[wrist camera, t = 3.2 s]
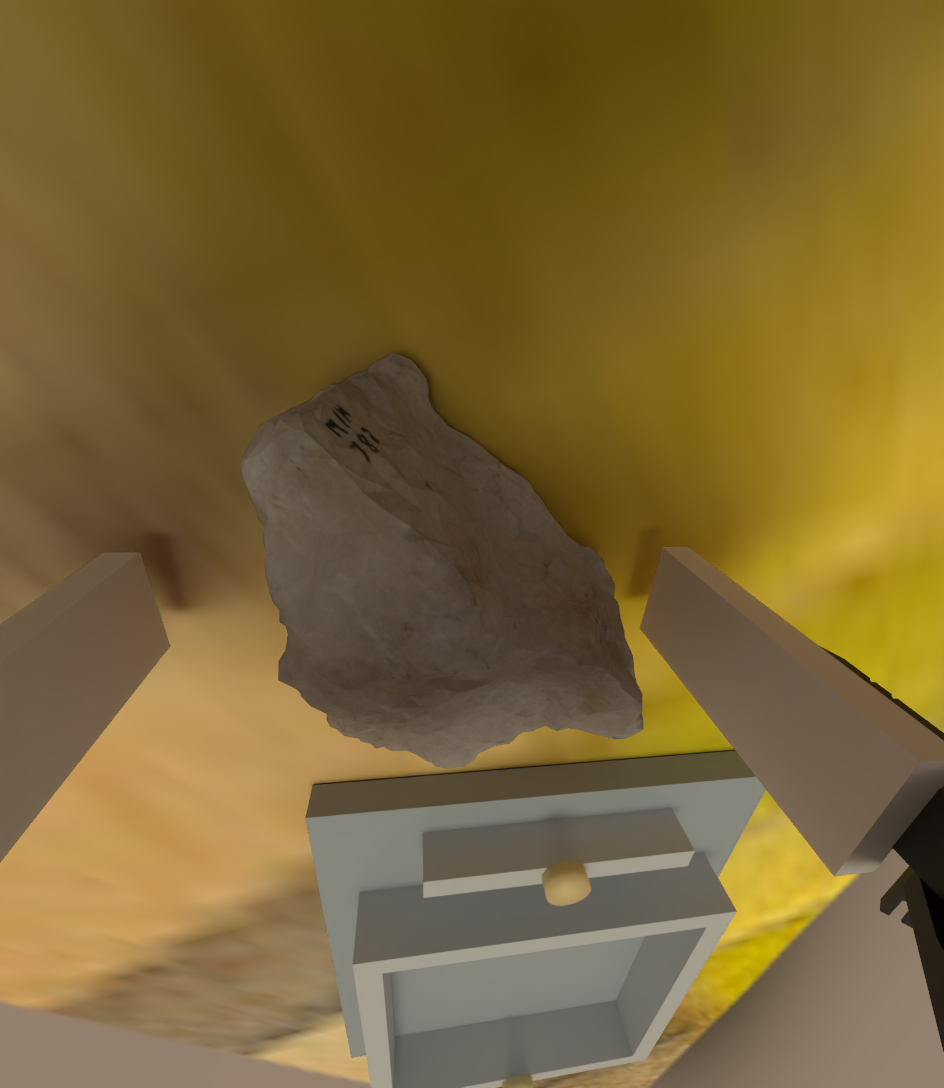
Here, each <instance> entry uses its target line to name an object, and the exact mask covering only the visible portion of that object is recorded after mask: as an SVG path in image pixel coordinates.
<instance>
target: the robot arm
mask: <svg viewBox="0 0 944 1088" xmlns="http://www.w3.org/2000/svg"><path fill="white" fill-rule="evenodd" d="M640 629H641V630H642V631H643V633H644V634H645V635H646V637H647V638H648V639H649V640H650V642H651V643H652V644H653V646H654V647H655V648H656V649H657V651H658V652H659V653H660V654H661V656H662V657H663V658H664V660H665V661H666V662H667V663H668V665H669V666H670V667H671V669H672V670H673V671H674V672H675V674H676V675H677V676H678V677H679V679H680V680H681V681H682V683H683V684H684V685H685V686H686V688H687V689H688V690H689V692H690V693H691V694H692V695H693V697H694V698H695V699H696V700H697V702H698V703H699V704H700V706H701V707H702V708H703V709H704V711H705V712H706V713H707V715H708V716H709V717H710V718H711V720H712V721H713V722H714V723H715V725H716V726H717V727H718V729H719V730H720V731H721V732H722V734H723V735H724V736H725V738H726V739H727V740H728V741H729V743H730V744H731V745H732V746H733V748H734V749H735V750H736V752H737V753H738V754H739V755H740V757H741V758H742V759H743V760H744V762H745V763H746V764H747V766H748V767H749V768H750V769H751V771H752V772H753V773H754V775H755V776H756V777H757V778H758V780H759V781H760V782H761V783H762V785H763V786H764V787H765V789H766V790H767V791H768V792H769V794H770V795H771V796H772V798H773V799H774V800H775V801H776V803H777V804H778V805H779V806H780V808H781V809H782V810H783V812H784V813H785V814H786V815H787V817H788V818H789V819H790V821H791V822H792V823H793V824H794V826H795V827H796V828H797V829H798V831H799V832H800V833H801V835H802V836H803V837H804V838H805V840H806V841H807V842H808V844H809V845H810V846H811V847H812V849H813V850H814V851H815V852H816V854H817V855H818V856H819V858H820V859H821V860H822V861H823V863H824V864H825V865H826V867H827V868H828V869H829V870H830V872H831V873H832V874H833V875H834V876H841V875H848V874H856V873H864V872H871V871H875V870H876V869H877V867H878V866H879V865H880V864H881V862H882V861H883V860H884V859H885V858H886V856H887V855H888V854H889V853H890V851H891V850H892V849H894V850H895V851H896V852H897V853H898V854H899V855H900V856H901V857H902V858H903V859H904V860H905V861H906V863H907V864H908V865H909V867H908V868H907V869H906V871H905V872H904V873H903V874H902V875H901V876H900V877H899V879H898V880H897V881H896V882H895V883H894V884H893V886H892V887H891V888H890V889H889V890H888V891H887V892H886V894H885V895H884V896H883V897H882V898H881V903H880V911H881V912H883V913H885V914H887V915H890V913H891V912H892V911H893V910H894V909H895V908H896V907H897V906H898V905H899V904H900V903H901V901H902V900H903V901H906V902H907V906H908V910H909V911H908V912H907V913H906V914H905V915H904V917H903V918H902V923H904V924H906V925H908V926H910V927H912V928H913V930H914V934H915V938H916V942H917V946H918V950H919V954H920V958H921V962H922V966H923V970H924V974H925V978H926V982H927V986H928V991H929V995H930V999H931V1003H932V1006H933V1011H934V1015H935V1019H936V1023H937V1027H938V1031H939V1035H940V1039H941V1043H942V1047H943V1051H944V733H943V732H942V731H940V730H939V729H938V728H936V727H935V726H934V725H932V724H931V723H930V722H928V721H927V720H925V719H924V718H923V717H921V716H920V715H919V714H917V713H916V712H915V711H913V710H912V709H911V708H909V707H908V706H907V705H905V704H904V703H903V702H901V701H900V700H899V699H893V698H892V696H891V695H892V694H891V693H889V692H888V691H887V690H885V689H884V688H882V687H881V686H880V685H878V684H877V683H876V682H871V681H870V678H869V677H868V676H866V675H865V674H864V673H862V672H861V671H860V670H858V669H857V668H856V667H854V666H853V665H852V664H850V663H849V662H848V661H846V660H845V659H843V658H841V657H839V656H837V655H836V654H834V653H832V652H830V651H828V650H826V649H824V648H822V647H820V646H818V645H817V644H816V643H814V642H813V641H812V640H810V639H809V638H808V637H806V636H805V635H804V634H802V633H801V632H800V631H799V630H797V629H796V628H795V627H793V626H792V625H791V624H789V623H788V622H787V621H785V620H784V619H783V618H781V617H780V616H779V615H777V614H776V613H775V612H773V611H772V610H771V609H770V608H768V607H767V606H766V605H764V604H763V603H762V602H760V601H759V600H758V599H756V598H755V597H754V596H752V595H751V594H750V593H748V592H747V591H746V590H744V589H743V588H742V587H741V586H739V585H738V584H737V583H735V582H734V581H733V580H731V579H730V578H729V577H727V576H726V575H725V574H723V573H722V572H721V571H719V570H718V569H717V568H715V567H714V566H713V565H712V564H710V563H709V562H708V561H706V560H705V559H704V558H702V557H701V556H700V555H698V554H697V553H696V552H694V551H693V550H692V549H690V548H689V547H662V550H661V554H660V557H659V561H658V564H657V568H656V572H655V575H654V579H653V583H652V586H651V590H650V594H649V597H648V601H647V605H646V608H645V612H644V616H643V619H642V623H641V627H640ZM169 647H170V644H169V641H168V638H167V635H166V631H165V628H164V625H163V622H162V619H161V616H160V613H159V610H158V607H157V604H156V600H155V597H154V594H153V591H152V588H151V585H150V582H149V579H148V576H147V573H146V569H145V566H144V563H143V560H142V557H141V554H140V552H104V553H102V554H101V555H99V556H98V557H96V558H95V559H93V560H92V561H91V562H89V563H88V564H86V565H85V566H83V567H82V568H81V569H79V570H78V571H76V572H75V573H73V574H72V575H70V576H69V577H68V578H66V579H65V580H63V581H62V582H60V583H59V584H58V585H56V586H55V587H53V588H52V589H50V590H49V591H47V592H46V593H45V594H43V595H42V596H40V597H39V598H37V599H36V600H35V601H33V602H32V603H30V604H29V605H27V606H26V607H24V608H23V609H22V610H20V611H19V612H17V613H16V614H14V615H13V616H12V617H10V618H9V619H7V620H6V621H4V622H3V623H1V624H0V862H1V861H2V860H3V858H4V857H5V856H6V855H7V853H8V852H9V851H10V850H11V848H12V847H13V846H14V844H15V843H16V842H17V841H18V839H19V838H20V837H21V836H22V834H23V833H24V832H25V830H26V829H27V828H28V827H29V825H30V824H31V823H32V821H33V820H34V819H35V818H36V816H37V815H38V814H39V813H40V811H41V810H42V809H43V807H44V806H45V805H46V804H47V802H48V801H49V800H50V799H51V797H52V796H53V795H54V793H55V792H56V791H57V790H58V788H59V787H60V786H61V785H62V783H63V782H64V781H65V779H66V778H67V777H68V776H69V774H70V773H71V772H72V771H73V769H74V768H75V767H76V765H77V764H78V763H79V762H80V760H81V759H82V758H83V757H84V755H85V754H86V753H87V751H88V750H89V749H90V748H91V746H92V745H93V744H94V743H95V741H96V740H97V739H98V737H99V736H100V735H101V734H102V732H103V731H104V730H105V728H106V727H107V726H108V725H109V723H110V722H111V721H112V720H113V718H114V717H115V716H116V714H117V713H118V712H119V711H120V709H121V708H122V707H123V706H124V704H125V703H126V702H127V700H128V699H129V698H130V697H131V695H132V694H133V693H134V692H135V690H136V689H137V688H138V686H139V685H140V684H141V683H142V681H143V680H144V679H145V678H146V676H147V675H148V674H149V672H150V671H151V670H152V669H153V667H154V666H155V665H156V664H157V662H158V661H159V660H160V658H161V657H162V656H163V655H164V653H165V652H166V651H167V650H168V648H169Z"/></svg>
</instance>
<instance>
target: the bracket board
mask: <svg viewBox="0 0 944 1088" xmlns="http://www.w3.org/2000/svg"><path fill="white" fill-rule="evenodd" d="M765 790H766V789H765V787H764V786H763V785H762V783H761V782H760V781H759V780H758V778H757V777H756V776H755V775H754V773H753V772H752V771H751V769H750V768H749V767H748V766H747V764H746V763H745V762H744V760H743V759H742V758H741V757H740V755H739V754H738V753H737V752H736V751H724V752H712V753H700V754H688V755H675V756H663V757H651V758H639V759H627V760H614V761H602V762H590V763H578V764H565V765H553V766H541V767H529V768H517V769H504V770H492V771H480V772H468V773H456V774H443V775H431V776H419V777H407V778H394V779H382V780H370V781H358V782H346V783H333V784H321V785H313V787H312V791H311V796H310V800H309V805H308V809H307V814H306V823H307V829H308V834H309V839H310V844H311V849H312V855H313V860H314V865H315V870H316V876H317V881H318V886H319V891H320V896H321V902H322V907H323V912H324V917H325V923H326V928H327V933H328V938H329V943H330V949H331V954H332V959H333V964H334V969H335V975H336V980H337V985H338V990H339V996H340V1001H341V1006H342V1011H343V1016H344V1022H345V1027H346V1032H347V1037H348V1043H349V1048H350V1053H351V1058H352V1057H358V1056H364V1055H366V1058H367V1064H368V1071H369V1078H370V1084H371V1088H496V1087H501V1086H503V1088H533V1084H532V1081H534V1080H539V1079H545V1078H550V1077H555V1076H561V1075H566V1074H572V1073H577V1072H582V1071H588V1070H593V1069H599V1068H604V1067H609V1066H615V1065H620V1064H626V1063H631V1062H636V1061H642V1060H646V1058H647V1057H648V1055H649V1053H650V1052H651V1050H652V1049H653V1047H654V1045H655V1044H656V1042H657V1040H658V1039H659V1037H660V1036H661V1034H662V1032H663V1031H664V1029H665V1027H666V1026H667V1024H668V1023H669V1021H670V1019H671V1018H672V1016H673V1014H674V1013H675V1011H676V1010H677V1008H678V1006H679V1005H680V1003H681V1001H682V1000H683V998H684V997H685V995H686V993H687V992H688V990H689V988H690V987H691V985H692V984H693V982H694V980H695V979H696V977H697V975H698V974H699V972H700V971H701V969H702V967H703V966H704V964H705V962H706V961H707V959H708V958H709V956H710V954H711V953H712V951H713V949H714V948H715V946H716V945H717V943H718V941H719V940H720V938H721V936H722V935H723V933H724V931H725V930H726V928H727V927H728V925H729V923H730V922H731V920H732V918H733V917H734V915H735V914H736V912H737V911H736V909H735V907H734V905H733V904H732V902H731V900H730V898H729V897H728V895H727V893H726V891H725V890H724V888H723V886H722V884H721V882H720V881H719V879H718V876H719V875H720V873H721V871H722V869H723V867H724V865H725V864H726V862H727V860H728V858H729V856H730V854H731V853H732V851H733V849H734V847H735V845H736V843H737V841H738V840H739V838H740V836H741V834H742V832H743V830H744V829H745V827H746V825H747V823H748V821H749V819H750V817H751V816H752V814H753V812H754V810H755V808H756V806H757V805H758V803H759V801H760V799H761V797H762V795H763V793H764V792H765Z"/></svg>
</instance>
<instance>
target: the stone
mask: <svg viewBox="0 0 944 1088" xmlns="http://www.w3.org/2000/svg"><path fill="white" fill-rule="evenodd" d="M428 388H429V385H428V382H427V379H426V378H425V376H424V375H423V374H422V372H421V371H420V370H419V368H418V367H417V366H416V364H415V363H414V362H413V361H412V360H410V359H408V358H405V357H403V356H401V355H397V354H393V353H390V354H389V355H387V356H386V357H384V358H383V359H381V360H379V361H378V362H376V363H374V364H372V365H370V366H369V368H368V370H367V372H361V373H355V374H354V375H352V376H350V377H349V378H347V379H346V380H344V381H342V382H339V383H335V384H331V385H330V386H329V387H328V388H327V389H323V390H321V391H320V392H318V393H317V394H316V395H315V396H314V397H313V398H312V399H310V400H309V401H307V402H305V403H302V404H300V405H297V406H295V407H292V408H290V409H289V410H287V411H286V412H284V413H282V414H280V415H277V416H275V417H272V418H271V419H269V420H268V421H266V422H264V423H263V424H261V425H260V427H259V429H258V431H257V432H256V434H255V436H254V438H253V439H252V441H251V443H250V444H249V446H248V447H247V449H246V451H245V452H244V454H243V456H242V478H243V480H244V482H245V484H246V486H247V488H248V491H249V496H250V498H251V500H252V501H253V503H254V505H255V507H256V509H257V512H258V517H259V520H260V521H261V523H262V524H263V525H264V527H265V528H264V534H263V540H264V545H265V550H266V560H265V571H266V578H267V582H268V586H269V590H270V594H271V597H272V601H273V602H274V603H275V605H276V606H277V608H278V609H279V615H280V623H282V624H283V625H285V626H286V629H287V632H288V637H287V645H286V650H285V652H284V653H283V655H282V657H281V658H280V660H279V673H278V680H279V681H281V682H283V683H285V684H287V685H289V686H292V687H294V688H296V689H297V690H298V691H299V692H300V693H301V696H302V698H303V699H304V700H305V701H306V702H307V703H308V704H309V705H310V706H312V707H314V708H316V709H318V710H320V711H322V712H324V713H326V714H327V721H328V723H329V725H330V726H331V727H333V728H336V729H337V730H338V731H340V732H341V733H342V734H343V735H344V736H347V737H353V738H359V739H360V741H362V742H366V743H370V744H372V745H373V746H374V747H375V748H380V747H385V748H387V749H389V750H392V751H410V752H412V753H414V754H417V755H418V756H420V757H421V758H423V759H424V760H426V761H428V762H429V761H430V762H432V763H433V764H434V765H435V766H438V767H442V768H454V767H462V766H466V765H467V764H469V763H470V762H471V761H473V760H474V759H475V757H476V756H477V755H478V753H480V752H483V751H485V750H487V749H489V748H491V747H494V746H498V745H503V744H509V743H510V742H512V741H513V740H514V739H515V738H516V737H517V736H518V735H519V734H520V733H522V732H527V731H534V730H536V729H538V728H541V727H543V726H547V727H549V728H551V729H554V730H556V731H558V730H562V729H566V728H570V729H579V730H582V731H586V732H590V733H593V734H597V735H601V736H605V737H608V738H612V739H626V738H628V737H630V736H632V735H634V734H636V733H638V732H639V731H641V730H642V729H643V717H642V693H641V691H640V689H639V687H638V684H637V683H636V678H635V673H634V662H633V655H632V653H631V651H630V649H629V646H628V644H627V642H626V639H625V634H624V628H623V625H622V622H621V618H620V611H619V605H618V603H617V601H616V600H615V598H614V589H615V585H614V582H613V580H612V577H611V576H610V575H609V573H608V572H607V570H606V569H605V565H604V560H603V559H602V558H601V557H600V556H599V555H598V554H597V553H596V551H595V550H594V549H593V548H592V547H588V546H582V545H579V544H577V543H576V542H575V541H574V540H572V539H571V538H570V537H568V536H567V534H566V533H565V531H564V530H563V529H562V527H561V526H560V525H559V523H558V522H557V521H556V520H555V519H554V518H553V516H552V515H551V514H550V512H549V511H548V510H547V508H546V505H545V504H544V502H543V501H542V499H541V498H540V497H539V496H538V495H537V493H536V492H535V491H534V489H533V487H532V485H531V483H530V482H529V481H528V480H526V479H525V478H523V477H522V476H520V475H519V474H517V473H516V472H514V471H513V470H511V469H509V468H508V467H506V466H504V465H502V464H501V462H500V461H499V460H498V459H496V458H495V457H493V456H492V455H491V454H490V453H489V452H487V451H486V450H485V449H484V448H483V447H482V446H480V445H479V444H478V443H477V442H475V441H474V440H472V439H471V438H469V437H467V436H466V435H464V434H462V433H460V432H459V431H457V430H455V429H453V428H451V427H449V426H448V425H447V424H446V423H445V421H444V420H443V419H442V418H441V417H440V416H439V415H438V414H437V413H436V411H435V410H434V409H433V408H432V405H431V403H430V400H429V398H428Z"/></svg>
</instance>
